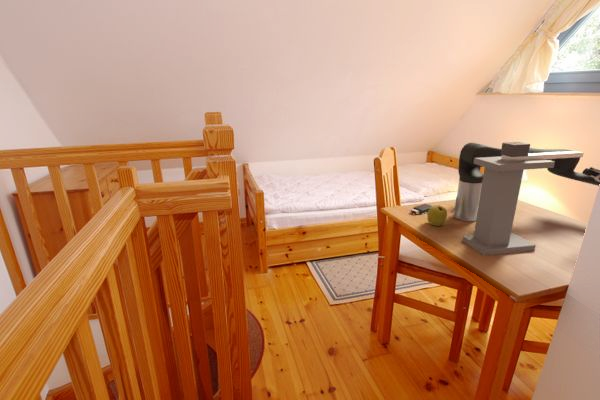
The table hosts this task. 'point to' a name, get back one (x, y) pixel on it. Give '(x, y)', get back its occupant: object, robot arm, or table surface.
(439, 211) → the apple
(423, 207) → the usb drive
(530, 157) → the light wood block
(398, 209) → the table surface
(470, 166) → the robot arm
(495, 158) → the gray stand
